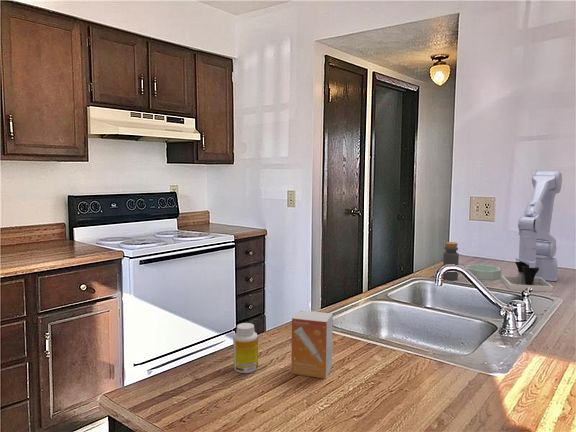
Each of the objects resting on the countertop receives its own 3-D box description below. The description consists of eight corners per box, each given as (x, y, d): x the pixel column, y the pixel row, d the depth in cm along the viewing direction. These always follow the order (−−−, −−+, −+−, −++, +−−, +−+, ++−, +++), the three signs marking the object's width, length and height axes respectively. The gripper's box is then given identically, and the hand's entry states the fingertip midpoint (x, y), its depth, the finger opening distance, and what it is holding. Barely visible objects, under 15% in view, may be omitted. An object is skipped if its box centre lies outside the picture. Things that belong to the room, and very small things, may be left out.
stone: (530, 285, 181) (531, 272, 181) (533, 287, 177) (534, 274, 177) (517, 284, 182) (518, 272, 181) (520, 287, 178) (521, 274, 178)
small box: (290, 374, 104) (290, 317, 102) (298, 363, 110) (298, 309, 108) (326, 379, 101) (326, 321, 100) (332, 367, 107) (333, 312, 106)
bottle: (459, 280, 188) (461, 244, 186) (445, 280, 188) (446, 244, 187) (455, 277, 194) (456, 241, 192) (440, 277, 194) (442, 241, 192)
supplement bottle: (261, 371, 105) (261, 327, 104) (238, 376, 103) (238, 331, 102) (252, 362, 110) (252, 320, 109) (230, 366, 108) (229, 323, 107)
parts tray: (540, 282, 185) (540, 277, 185) (552, 291, 171) (553, 286, 171) (500, 280, 188) (501, 275, 188) (510, 289, 174) (510, 284, 174)
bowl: (495, 273, 201) (496, 265, 201) (503, 280, 188) (503, 272, 188) (463, 271, 204) (463, 264, 203) (468, 279, 191) (468, 270, 190)
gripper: (511, 244, 186) (509, 277, 187) (521, 250, 172) (519, 286, 173) (530, 244, 184) (528, 278, 186) (542, 251, 170) (540, 287, 172)
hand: (525, 282), depth 179 cm, fingers open, 7 cm apart
